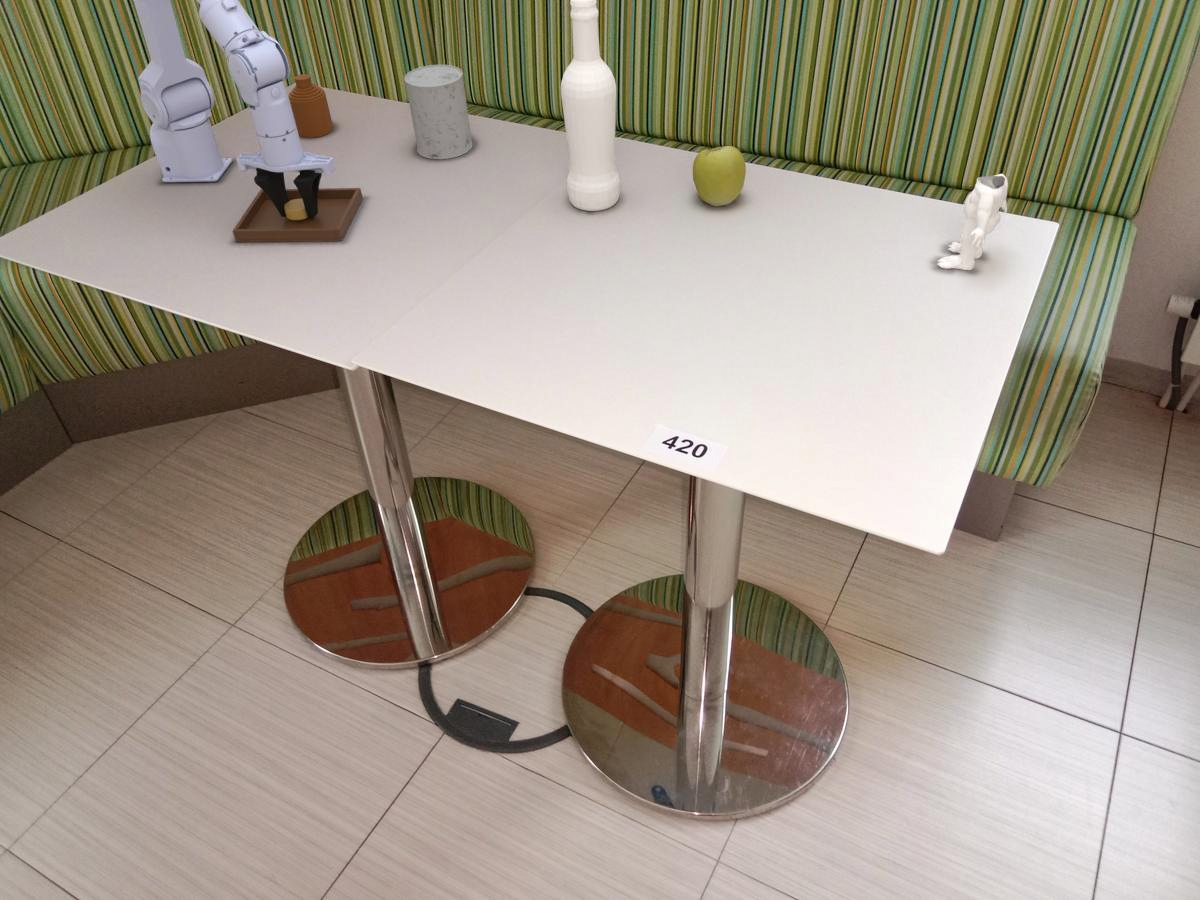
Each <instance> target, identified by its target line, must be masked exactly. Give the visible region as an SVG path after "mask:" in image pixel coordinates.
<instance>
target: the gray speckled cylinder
mask: <svg viewBox="0 0 1200 900" xmlns="http://www.w3.org/2000/svg"><path fill="white" fill-rule="evenodd" d="M463 76H464V73H463V70H462V69H461V68H460V67H457V66H455V65H451V64H429V65H423V66H420V67H417V68H414V69H411V70H410V71H408V72H407V73H406V74H405V75H404V77H403V79H404V83H405V86H406V87H405V88H406V93H407V98H408V103H409V109H410V116H411V120H412V126H413V133H414V136H415V144H416V152H417V154H418V155H419V156H421V157H423V158H426V159H431V160H449V159H454V158H458V157H460V156H463V155H465V154H466V153H468V152H469V151H470V150H471V149H472V148H473V141H472V134H471V127H470V120H469V112H468V106H467V105H468V104H467V98H466V91H465V84H464V77H463Z"/></svg>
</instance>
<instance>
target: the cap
mask: <svg viewBox="0 0 1200 900" xmlns="http://www.w3.org/2000/svg"><path fill="white" fill-rule="evenodd" d="M284 209H285V213H286V216H287V218H288V219H290V220H302V219H305V218H308V216H307V214H306V210H305V206H304V203H303V200H302V199H295V200H291V201H289V202H287V203H286V204H285V205H284Z"/></svg>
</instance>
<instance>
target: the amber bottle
mask: <svg viewBox="0 0 1200 900" xmlns="http://www.w3.org/2000/svg"><path fill="white" fill-rule="evenodd" d="M294 82H295V86H294V87H293V88H292V89H291V90H290V92H288V96H289V100H290V104H291V108H292V112H293V116H294V119H295V123H296V127H297V131H298V135H299V137H301V138H308V139H313V138H320V137H323V136H326V135H329V134H330V133H332V132H333V130H334V124H333V120H332V116H331V111H330V106H329V103H328V98H327V94H326V91H325V90H324V89H323V87H321V86H319V85H317V84H315V83H313V82H312V78H311V76H310V74H307V73H302V74H298V75H295V76H294Z"/></svg>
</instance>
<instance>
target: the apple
mask: <svg viewBox="0 0 1200 900" xmlns="http://www.w3.org/2000/svg"><path fill="white" fill-rule="evenodd" d="M714 145H717V142H716V141H714ZM692 163H693V164H692V179H693V183H694V187H695V190H696V192H697V195H698V196H699V199H701V200H702V201H703V202H705V203H706V204H709V206H710V205H711V206H713V207H720V206H721V207H722V206H727V205H729V204H731V203H732V202H733V201H735V200H736V199H737V198H738V197H739V196H740V194H741V192H742V189H743V188H744V184H745V180H746V179H745V178H746V173H747V169H746V168H747V167H746V161H745V158H744V156H743V153H742V152H741V151H740V150H739V149H738V148H737V147H735V146H732V145H724V146H718V147H717V146H716V147H714V148H710V149H703V150H701V151H699V152H698V153H697V155H696V156H695V157H694V160H693V162H692Z"/></svg>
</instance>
